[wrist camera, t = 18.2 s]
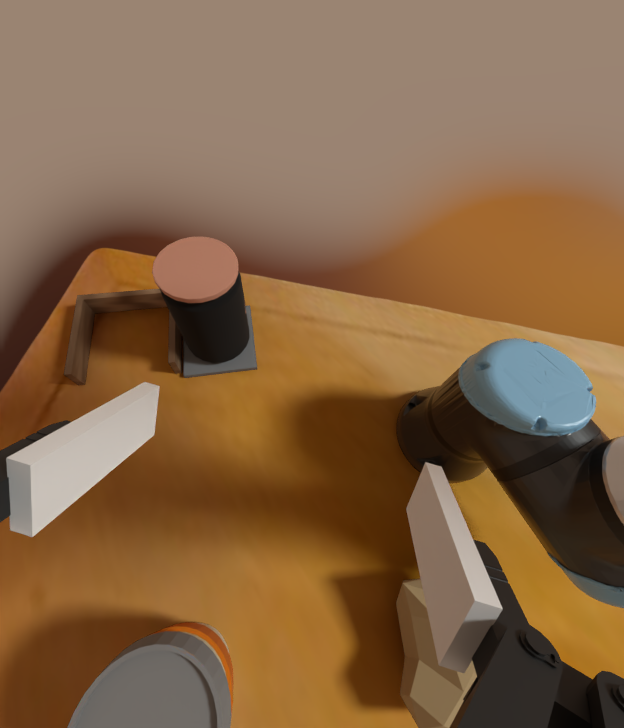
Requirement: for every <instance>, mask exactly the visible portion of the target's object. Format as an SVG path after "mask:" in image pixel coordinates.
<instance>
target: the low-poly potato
mask: <svg viewBox="0 0 624 728" xmlns="http://www.w3.org/2000/svg"><path fill="white" fill-rule="evenodd" d="M396 606H397V612H398V618H399V624H400V630H401V636H402V642H403V648H404V654H405V660H404V667H403V675H402V682H401V689H400V696H401V698H402V699H403V701H404V703H405V705H406V706H407V708H408V710H409V712H410V713H411V715H412V717H413V719H414V720H415V722H416V724H417V726H418V727H419V728H450V726H451V724H452V722H453V720H454V718H455V716H456V714H457V712H458V711H459V709H460V707H461V705H462V703H463V701H464V700H463V698H464V697H465V695H466V693H467V692H468V690H469V689H470V687H471V685H472V684H473V682H474V681H475V679H476V677H477V675H476V671H475V668H474V664H473V661H471V663H470V665H469V666H468V668H467V670H466V671H465V673H461V672H458V671H455V670H452V669H448V668H445V667H442V666H439V664H438V659H437V654H436V650H435V645H434V640H433V635H432V631H431V626H430V621H429V616H428V611H427V607H426V602H425V597H424V592H423V587H422V583H421V579H411V580H403V583H402V586H401V589H400V592H399V595H398V598H397V601H396Z"/></svg>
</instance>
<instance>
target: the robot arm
mask: <svg viewBox="0 0 624 728" xmlns="http://www.w3.org/2000/svg"><path fill="white" fill-rule="evenodd" d="M159 387H160V386H157V385H154V384H150V383H147V382H144V383H142V384H140V385H138V386H136V387H134V388H133V389H131V390H129V391H127V392H125V393H124V394H122V395H120V396H118V397H116V398H114V399H113V400H111V401H109V402H107V403H105V404H104V405H102V406H100V407H98V408H96V409H94V410H93V411H91V412H89V413H87V414H85V415H83V416H82V417H80V418H78V419H76V420H74V421H73V422H70V421H67V420H66V421H62V422H59V423H55V424H52V425H49V426H47V427H45V428H43V429H41V430H39V431H37V433H36V434H35V433H34V434H32V435H30V436H28V437H26V439H22V440H20V441H18V442H16V443H14V444H12V445H10V446H9V447H7V448H5V449H3V450H1V451H0V522H1V521H3V520H4V519H6V518H7V517H8V516H9V517H10V530H11V531H14V532H18V533H21V534H24V535H27V536H30V537H33V536H34V535H36V534H37V533H38V532H39V531H40V530H42V529H43V528H44V527H45V526H46V525H48V524H49V523H50V522H51V521H52V520H54V519H55V518H56V517H57V516H58V515H60V514H61V513H62V512H63V511H64V510H65V509H67V508H68V507H69V506H70V505H71V504H73V503H74V502H75V501H76V500H77V499H79V498H80V497H81V496H82V495H83V494H85V493H86V492H87V491H88V490H89V489H90V488H92V487H93V486H94V485H95V484H96V483H98V482H99V481H100V480H101V479H102V478H104V477H105V476H106V475H107V474H108V473H110V472H111V471H112V470H113V469H114V468H115V467H117V466H118V465H119V464H120V463H121V462H123V461H124V460H125V459H126V458H127V457H129V456H130V455H131V454H132V453H133V452H135V451H136V450H137V449H138V448H139V447H141V446H142V445H143V444H144V443H145V442H146V441H148V440H149V439H150V438H151V437H152V436H154V433H155V424H156V415H157V406H158V396H159ZM592 389H593V387H592V384H591V382H590V380H589V379H588V377H587V376H586V375H585V373H584V372H583V371H582V369H581V368H580V367H579V366H578V365H577V364H576V363H575V362H574V361H572V360H571V359H570V358H568V357H567V356H566V355H564V354H563V353H561V352H560V351H558V350H556V349H554V348H552V347H550V346H548V345H545V344H542V343H539V342H530V341H527V340H525V339H504V340H500V341H496V342H493V343H491V344H489V345H487V346H486V347H484V348H483V349H481V350H480V351H479V352H478V353H476V354H474V355H472V356H470V357H469V358H468V359H466V361H465V362H464V363H463V364H462V365H461V367H460V368H459V369H458V370H457V371H456V372H455V373H453V374H452V375H451V376H450V377H449V378H448V379H447V380H446V381H445V382H444V383H443V384H442V385H441V386H438V387H432V388H428V389H424V390H422V391H420V392H418V393H416V394H415V395H414V396H412V397H411V398H410V399H409V400H408V401H407V402H406V403H405V405H404V406H403V407H402V409H401V411H400V413H399V416H398V420H397V437H398V441H399V444H400V447H401V449H402V451H403V453H404V455H405V456H406V458H407V459H408V461H409V462H410V463H411V464H412V465H413V466H414V467H415V468H416V469H417V470H418V471H419V472H421V474H420V477H419V479H418V481H417V484H416V486H415V489H414V491H413V493H412V496H411V498H410V501H409V503H408V505H407V508H406V511H407V516H408V520H409V525H410V530H411V535H412V540H413V544H414V549H415V554H416V559H417V564H418V568H419V573H420V578H421V583H422V587H423V592H424V597H425V602H426V607H427V611H428V616H429V621H430V626H431V631H432V635H433V640H434V645H435V650H436V654H437V659H438V664H439V666H442V667H445V668H448V669H452V670H455V671H458V672H461V673H465V671H466V670H467V668H468V666H469V665H470V663H471V661H473V664H474V668H475V671H476V675H477V677H476V679H475V681H474V682H473V684H472V685H471V687H470V689H469V690H468V692H467V693H466V695H465V697H464V698H463V700H464V701H463V703H462V705H461V707H460V709H459V711H458V712H457V714H456V716H455V718H454V720H453V722H452V724H451V726H450V728H624V679H623V678H621V677H619V676H617V675H615V674H613V673H611V672H606V671H601V672H600V673H598V674H597V675H596V676H595V678H594V679H593V680H592V679H591V678H589V677H587V676H586V675H584V674H582V673H581V672H579V671H577V670H576V669H574V668H572V667H571V666H569V665H567V664H566V663H564V662H563V661H561V659H560V657H559V654H558V652H557V651H556V649H555V648H554V647H553V645H552V644H551V643H550V641H549V640H548V639H547V638H546V637H545V636H544V635H543V634H542V633H541V632H539V631H538V630H536V629H535V628H533V627H532V626H530V625H529V623H528V621H527V619H526V617H525V615H524V613H523V611H522V609H521V607H520V605H519V603H518V601H517V599H516V597H515V595H514V592H513V590H512V588H511V586H510V584H508V580H507V578H506V576H505V574H504V572H502V568H501V566H500V564H499V562H498V559H497V557H496V556H495V555H494V553H493V552H492V551H491V550H490V549H489V547H488V546H487V545H486V544H485V543H483V542H480V541H476V540H473V538H472V536H471V534H470V531H469V529H468V527H467V524H466V522H465V520H464V518H463V515H462V513H461V511H460V508H459V506H458V504H457V501H456V499H455V497H454V494H453V492H452V490H451V487H450V485H449V483H459V482H463V481H467V480H470V479H472V478H475V477H476V476H478V475H480V474H481V473H482V472H483V471H484V470H485V469H486V468H487V467H488V468H489V469H490V471H491V472H492V473H493V475H494V476H495V478H496V479H497V481H498V482H499V484H500V485H501V486H502V488H503V489H504V491H505V492H506V494H507V495H508V496H509V498H510V499H511V501H512V502H513V504H514V505H515V506H516V508H517V509H518V511H519V512H520V514H521V515H522V516H523V518H524V519H525V521H526V522H527V524H528V525H529V526H530V528H531V529H532V531H533V532H534V534H535V535H536V537H537V538H538V539H539V541H540V542H541V544H542V545H543V547H544V548H545V550H546V551H547V553H548V555H549V556H550V558H551V559H552V560H553V561H554V562H555V563H556V564H557V565H558V566H559V567H560V568H561V569H562V570H563V571H564V573H565V574H566V575H567V576H568V578H569V579H570V580H571V581H572V582H573V583H574V584H575V585H576V586H577V587H578V588H579V589H580V590H581V591H583V592H584V593H586V594H587V595H589V596H590V597H592V598H594V599H596V600H598V601H601V602H603V603H606V604H609V605H612V606H616V607H620V608H624V436H621V437H618V438H615V439H611V440H610V439H609V438H608V437H607V436H606V435H605V434H604V433H603V432H602V431H601V429H599V427H598V426H597V425H596V424H595V423H594V422H593V421H592V420H591V417H592V415H593V414H594V412H595V407H596V405H595V404H596V398H595V396H594V395H593V394H591V393H590V391H591V390H592Z"/></svg>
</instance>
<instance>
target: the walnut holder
mask: <svg viewBox="0 0 624 728" xmlns="http://www.w3.org/2000/svg"><path fill="white" fill-rule="evenodd" d="M162 307H167V305H166V303H165V301H164V299H163V297H162V294H161V291H160V289H150V290H138V291H125V292H113V293H101V294H88V295H77V300H76V306H75V312H74V318H73V323H72V329H71V335H70V341H69V347H68V352H67V358H66V364H65V370H64V375H65V376H66V377H68V378H69V379H70V380H72V381H73V382H75V383H76V384H77V385H84V384H85V382H86V374H87V367H88V360H89V353H90V346H91V338H92V331H93V324H94V317H95V313H106V312H117V311H128V310H140V309H151V308H162ZM168 363H169V365H170V366H171V368H172V369H173V371H174V372H175V373H176V374H177V373H182V334H181V332H180V330H179V328H178V326H177V324H176V322H175V320H174V318H173V317H172V315H171V313H170V311H169V350H168Z"/></svg>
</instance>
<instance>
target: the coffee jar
mask: <svg viewBox="0 0 624 728" xmlns="http://www.w3.org/2000/svg"><path fill="white" fill-rule="evenodd" d="M152 273H153V277H154V280H155V283H156V284H157V286H158V287H159V288H160V291H161V294H162V297H163V299H164V301H165V303H166V305H167V307H168V309H169V311H170V313H171V315H172V317H173V318H174V320H175V322H176V324H177V326H178V328H179V330H180V332H181V334H182V336H183V338H184V340H185V342H186V344H187V346H188V348H189V350H190V351H191V352H192V353H193V354H194V356H196V357H198V358H199V359H201V360H203V361H206V362H211V363H223V362H226V361H229V360H232V359H234V358H235V357H237V356H238V355H240V354H241V353H242V351H243V350H244V349H245V348H246V346H247V344H248V341H249V338H250V337H249V325H248V319H247V313H246V307H245V300H244V294H243V288H242V282H241V276H240V273H239V271H238V260H237V258H236V256H235V254H234V251H232V250H231V249H230V248H229V247H228V246H227V245H226V244H225V243H222V242H220V241H218V240H216V239H213V238H208V237H189V238H185V239H180V240H178V241H175V242H174V243H171V244H170V245H168V246H166V247H165V248H164V249H163V250H162V251H161V252H160V253H159V254H158V256H157V257H156V259H155V261H154V264H153V271H152Z"/></svg>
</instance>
